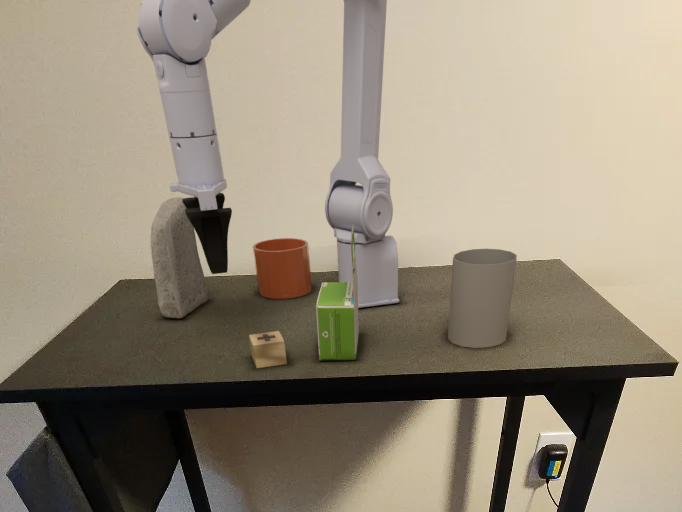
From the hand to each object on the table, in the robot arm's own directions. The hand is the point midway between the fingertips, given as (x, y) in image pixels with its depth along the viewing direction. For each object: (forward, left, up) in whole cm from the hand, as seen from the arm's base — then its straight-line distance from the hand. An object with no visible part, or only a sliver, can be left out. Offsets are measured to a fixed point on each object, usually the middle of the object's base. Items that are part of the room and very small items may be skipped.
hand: (217, 265), depth 80 cm
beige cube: (-4, +10, -10) cm, 15 cm away
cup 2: (-34, +12, -10) cm, 38 cm away
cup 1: (-12, -22, -10) cm, 27 cm away
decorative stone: (+6, -18, -10) cm, 21 cm away
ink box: (-15, +9, -10) cm, 20 cm away
